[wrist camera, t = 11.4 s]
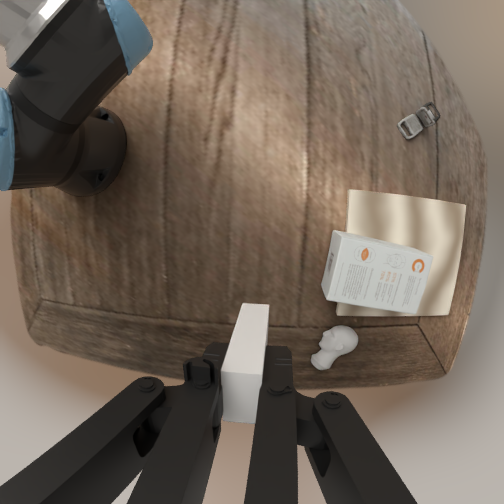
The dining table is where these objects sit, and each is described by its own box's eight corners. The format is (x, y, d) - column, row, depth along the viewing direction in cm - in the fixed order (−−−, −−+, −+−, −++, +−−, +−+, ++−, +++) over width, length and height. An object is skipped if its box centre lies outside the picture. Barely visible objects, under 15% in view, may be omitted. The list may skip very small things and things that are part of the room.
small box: (319, 285, 40) (400, 299, 39) (325, 300, 33) (416, 316, 32) (332, 228, 38) (415, 247, 37) (341, 234, 32) (435, 256, 31)
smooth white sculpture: (342, 314, 43) (362, 337, 42) (303, 346, 44) (323, 368, 43) (342, 319, 39) (364, 345, 37) (299, 354, 40) (321, 378, 39)
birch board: (335, 312, 41) (337, 315, 40) (347, 189, 38) (349, 189, 36) (445, 312, 39) (448, 314, 38) (461, 204, 36) (465, 204, 35)
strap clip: (405, 141, 35) (418, 137, 31) (394, 124, 35) (405, 118, 31) (440, 117, 34) (453, 111, 30) (429, 101, 33) (441, 94, 29)
